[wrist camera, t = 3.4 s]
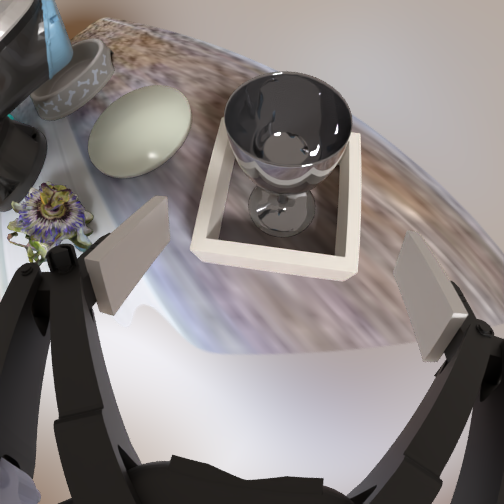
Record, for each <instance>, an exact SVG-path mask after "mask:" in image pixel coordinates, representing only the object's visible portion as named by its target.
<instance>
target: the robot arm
mask: <svg viewBox="0 0 504 504" xmlns="http://www.w3.org/2000/svg"><path fill="white" fill-rule="evenodd" d="M72 57H73V49H72V46H71V43H70V40H69V37H68V34H67V32H66V29H65V26H64V24H63V21H62V19H61V16H60V13H59V10H58V8H57V5H56V3H55V0H0V211H1V212H5V211H8V210H10V209H12V208H13V207H12V205H11V203H12V201H14V202H17V203H19V202H20V201H21V200H22V199H23V198H24V197H25V196H26V194H27V193H28V192H29V190H30V189H31V187H32V186H33V184H34V183H35V181H36V179H37V177H38V175H39V173H40V171H41V168H42V166H43V163H44V160H45V156H46V150H47V143H46V139H45V137H44V135H43V134H42V133H41V132H40V131H39V130H38V129H36V128H35V127H33V126H30V125H27V124H24V123H21V122H18V121H15V120H12V119H10V118H9V117H8V116H7V115H8V114H9V113H10V112H12V111H13V110H14V109H15V108H16V107H17V106H18V105H19V104H20V103H21V102H22V101H24V100H25V99H26V98H27V97H28V96H29V95H30V94H32V93H33V92H34V91H35V90H36V89H38V88H39V87H40V86H41V85H43V84H44V83H45V82H46V81H48V80H51V79H52V78H53V76H54V75H55V74H56V73H57V72H59V71H60V70H61V69H63V68H64V67H65V66H66V65H68V63H69V62H70V61H71V59H72ZM169 241H170V231H169V217H168V199H167V197H165V196H154V197H153V198H152V199H150V200H149V201H148V202H147V203H146V204H144V205H143V206H142V207H141V208H140V209H138V210H137V211H136V212H135V213H134V214H132V215H131V216H130V217H129V218H128V219H127V220H126V221H124V222H123V223H122V224H121V225H120V226H119V227H118V228H116V229H115V230H114V231H113V232H112V233H108V234H106V235H104V236H102V237H100V238H99V239H98V240H97V241H96V242H95V243H94V244H93V245H91V246H90V247H89V249H87V250H86V251H85V252H84V253H83V254H82V255H81V256H80V257H79V258H78V259H77V257H76V253H75V249H74V247H73V245H71V244H60V245H57V246H55V247H53V248H51V249H50V250H49V251H48V252H47V254H46V259H47V262H48V265H49V268H50V271H51V272H41V270H40V267H39V265H38V264H37V263H35V262H31V263H26V264H24V265H22V266H21V267H20V268H18V270H17V271H16V272H15V274H14V276H13V278H12V280H11V282H10V284H9V286H8V288H7V290H6V292H5V294H4V296H3V298H2V300H1V303H0V504H37V503H38V502H40V499H41V495H40V492H39V491H38V490H37V489H36V486H35V484H34V481H33V480H32V479H33V474H34V468H35V459H36V440H37V424H38V414H39V405H40V395H41V389H42V381H43V376H44V370H45V364H46V359H47V354H48V349H49V344H50V340H51V355H52V366H53V376H54V385H55V392H56V400H57V406H58V412H59V419H58V420H55V421H54V432H55V437H56V443H57V447H58V451H59V455H60V460H61V463H62V467H63V471H64V475H65V478H66V481H67V484H68V487H69V491H70V494H71V497H72V498H70V499H68V500H66V501H63V502H61V503H58V504H432V502H433V500H434V499H435V497H436V496H437V494H438V492H439V491H440V489H441V487H442V482H443V481H442V480H441V479H440V475H441V472H442V471H443V469H444V467H445V465H446V464H447V462H448V460H449V458H450V456H451V454H452V452H453V450H454V448H455V446H456V444H457V442H458V440H459V438H460V436H461V434H462V431H463V429H464V427H465V425H466V422H467V420H468V417H469V415H470V413H471V410H472V408H473V412H472V418H471V425H470V430H469V436H468V441H467V446H466V450H465V455H464V459H463V463H462V467H461V471H460V475H459V479H458V482H457V485H456V489H455V492H454V495H453V498H452V501H451V503H450V504H504V339H502V338H499V337H496V336H494V332H493V330H492V328H491V327H490V326H489V325H488V324H487V323H486V322H484V321H482V320H479V319H476V317H475V315H474V313H473V311H472V310H471V308H470V306H469V304H468V302H466V299H465V297H464V296H463V293H462V292H461V290H460V288H459V287H458V286H457V285H456V284H455V283H454V282H453V281H450V280H449V278H448V277H447V275H446V273H445V272H444V270H443V268H442V267H441V265H440V264H439V262H438V260H437V259H436V257H435V256H434V254H433V253H432V251H431V249H430V248H429V246H428V245H427V243H426V242H425V240H424V239H423V237H422V236H421V235H420V233H419V232H415V231H409V230H407V232H406V236H405V239H404V242H403V245H402V248H401V251H400V253H399V256H398V259H397V262H396V265H395V267H394V270H393V274H394V277H395V279H396V282H397V284H398V287H399V290H400V292H401V295H402V298H403V300H404V303H405V306H406V309H407V312H408V315H409V318H410V321H411V324H412V327H413V330H414V333H415V336H416V339H417V342H418V345H419V348H420V352H421V356H422V359H423V362H437V361H438V360H439V359H440V357H441V356H442V354H443V353H445V356H446V361H445V362H444V363H443V365H442V366H441V367H440V369H439V370H438V371H437V373H436V374H435V375H434V376H436V378H435V380H434V381H433V383H432V385H431V387H430V389H429V390H428V392H427V394H426V395H425V397H424V399H423V400H422V402H421V404H420V405H419V407H418V408H417V410H416V412H415V413H414V415H413V416H412V418H411V419H410V421H409V422H408V424H407V425H406V427H405V428H404V430H403V431H402V432H401V434H400V435H399V437H398V438H397V439H396V441H395V442H394V444H393V445H392V446H391V448H390V449H389V450H388V452H387V453H386V454H385V455H384V457H383V458H382V459H381V460H380V462H379V463H378V464H377V465H376V467H375V468H374V469H373V470H372V471H371V472H370V474H369V475H368V476H367V477H366V478H365V479H364V480H363V481H362V482H361V484H359V485H358V486H357V487H356V488H354V489H353V490H352V491H351V492H350V493H349V494H348V495H347V496H345V495H344V494H342V493H340V492H338V491H336V490H335V489H332V488H329V487H327V486H323V478H302V477H288V476H285V477H277V478H268V479H258V480H244V479H241V478H239V477H236V476H234V475H231V474H229V473H227V472H225V471H222V470H220V469H218V468H216V467H214V466H211V465H209V464H206V463H202V462H198V461H194V460H190V459H186V458H182V457H178V456H175V455H172V457H171V460H170V461H159V462H158V461H157V462H151V463H146V464H141V462H140V460H139V458H138V456H137V454H136V452H135V450H134V448H133V447H132V445H131V442H130V440H129V437H128V434H127V432H126V429H125V426H124V424H123V421H122V418H121V415H120V412H119V409H118V406H117V403H116V400H115V397H114V394H113V390H112V387H111V383H110V380H109V376H108V373H107V369H106V365H105V361H104V357H103V353H102V349H101V345H100V340H99V336H98V331H97V326H96V321H95V317H94V312H93V309H92V306H93V305H94V304H95V303H96V302H97V304H98V308H99V311H100V312H103V313H106V314H109V315H113V316H114V315H115V313H116V312H117V311H118V309H119V308H120V306H121V305H122V304H123V302H124V301H125V299H126V298H127V297H128V295H129V294H130V293H131V291H132V290H133V288H134V287H135V286H136V284H137V283H138V282H139V280H140V279H141V278H142V276H143V275H144V274H145V272H146V271H147V270H148V268H149V267H150V266H151V264H152V263H153V262H154V261H155V259H156V258H157V257H158V255H159V254H160V253H161V252H162V250H163V249H164V248H165V246H166V245H167V244H168V243H169Z"/></svg>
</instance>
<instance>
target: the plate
mask: <svg viewBox="0 0 504 504" xmlns="http://www.w3.org/2000/svg"><path fill="white" fill-rule="evenodd" d="M191 124H192V112H191V109H190V106H189V103H188V101H187V99H186V97H185V96H184V95H183V94H182V93H181V92H180V91H178V90H176V89H174V88H171V87H168V86H160V85H157V86H147V87H143V88H139V89H136V90H134V91H131V92H129V93H127V94H125V95H123V96H122V97H120V98H119V99H117V100H116V101H115V102H113V103H112V104H111V105H110V106H109V107H108V108H107V109H106V110H105V111H104V112H103V113H102V114H101V115H100V117H99V118H98V120H97V121H96V123H95V124H94V126H93V128H92V131H91V133H90V137H89V141H88V153H89V157H90V159H91V161H92V163H93V164H94V165H95V166H96V167H97V168H98V169H99V170H100V171H101V172H102V173H103V174H105V175H107V176H109V177H113V178H120V179H123V178H132V177H137V176H140V175H143V174H146V173H148V172H150V171H152V170H154V169H156V168H157V167H159V166H161V165H162V164H163V163H165V162H166V161H167V160H169V159H170V158H171V157H172V156H173V155H174V154H175V153H176V152H177V151H178V150H179V148H180V147H181V146H182V144H183V143H184V141H185V140H186V138H187V136H188V134H189V131H190V128H191Z"/></svg>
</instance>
